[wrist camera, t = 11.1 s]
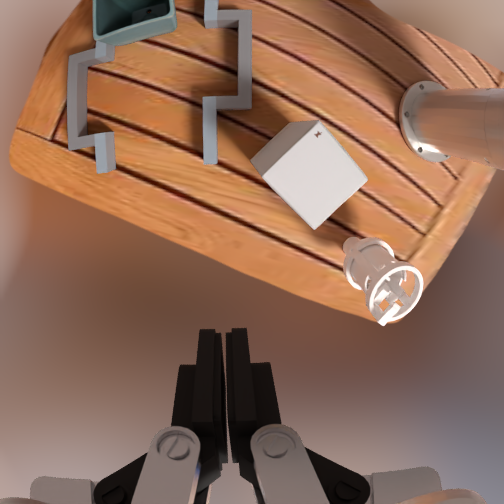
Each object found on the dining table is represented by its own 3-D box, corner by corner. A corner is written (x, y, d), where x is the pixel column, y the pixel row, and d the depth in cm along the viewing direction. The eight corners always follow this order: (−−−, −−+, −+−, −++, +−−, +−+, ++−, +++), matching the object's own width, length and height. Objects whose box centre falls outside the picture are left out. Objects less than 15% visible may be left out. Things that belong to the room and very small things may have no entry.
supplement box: (247, 160, 36) (257, 175, 24) (290, 120, 34) (320, 116, 22) (287, 200, 38) (313, 233, 27) (328, 162, 36) (371, 179, 25)
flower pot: (117, 6, 25) (92, -18, 17) (180, -12, 25) (169, -43, 17) (120, 58, 28) (92, 41, 20) (186, 40, 29) (175, 16, 20)
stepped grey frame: (250, -27, 25) (252, -37, 22) (249, 160, 36) (251, 163, 33) (86, -4, 23) (78, -11, 20) (81, 173, 34) (71, 177, 31)
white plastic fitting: (320, 252, 41) (361, 312, 28) (350, 214, 39) (406, 258, 26) (352, 275, 44) (397, 335, 30) (381, 240, 42) (437, 289, 28)
